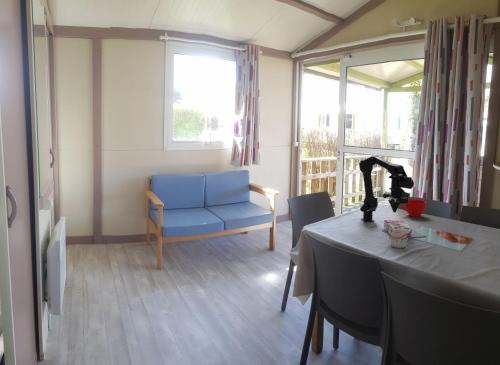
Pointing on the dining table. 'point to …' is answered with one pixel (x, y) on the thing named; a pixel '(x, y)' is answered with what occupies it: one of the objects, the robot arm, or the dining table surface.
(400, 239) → the cupcake
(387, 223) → the candy bar box
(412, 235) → the mat
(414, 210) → the ceramic cup
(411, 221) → the dining table surface
